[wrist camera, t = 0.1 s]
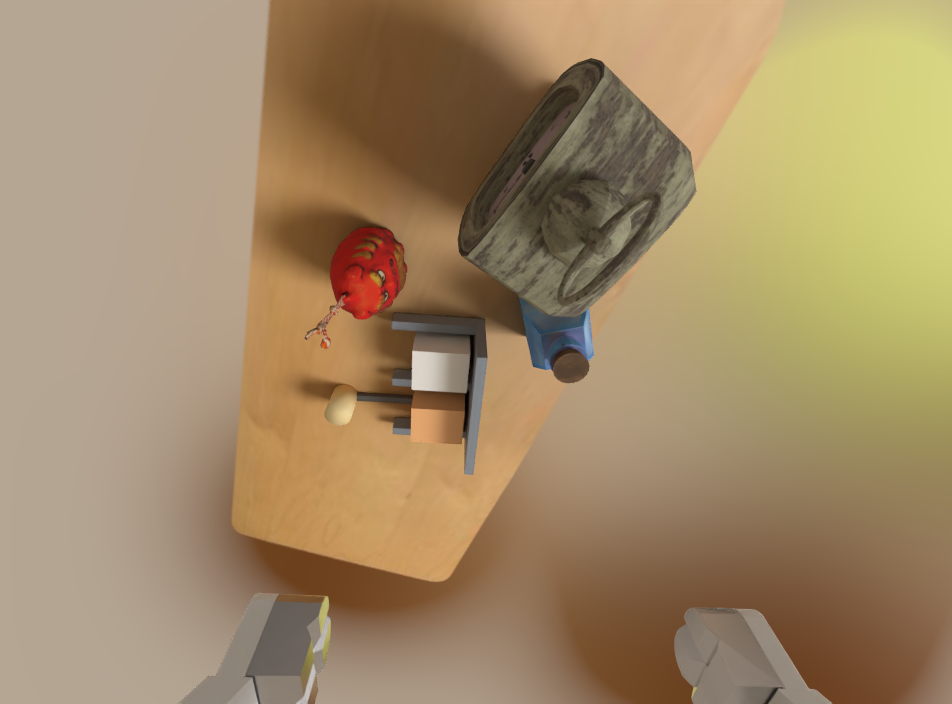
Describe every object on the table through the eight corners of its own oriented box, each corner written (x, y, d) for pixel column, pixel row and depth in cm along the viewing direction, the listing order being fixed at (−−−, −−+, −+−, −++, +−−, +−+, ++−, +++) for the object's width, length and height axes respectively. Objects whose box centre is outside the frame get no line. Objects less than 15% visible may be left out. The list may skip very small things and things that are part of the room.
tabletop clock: (561, 61, 37) (685, 48, 16) (635, 133, 40) (823, 202, 19) (459, 204, 43) (452, 332, 22) (531, 257, 46) (585, 415, 25)
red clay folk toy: (415, 287, 48) (397, 366, 35) (351, 297, 48) (310, 377, 36) (399, 216, 44) (371, 276, 31) (329, 227, 44) (273, 290, 32)
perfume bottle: (526, 336, 51) (541, 402, 41) (517, 287, 48) (530, 345, 38) (580, 325, 51) (609, 389, 41) (575, 275, 47) (604, 331, 37)
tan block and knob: (331, 376, 54) (320, 403, 50) (464, 385, 55) (464, 411, 51) (334, 409, 56) (324, 436, 52) (461, 416, 57) (461, 444, 53)
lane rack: (394, 312, 49) (382, 351, 43) (484, 319, 50) (487, 358, 43) (395, 423, 58) (385, 470, 51) (472, 427, 58) (473, 474, 52)
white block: (416, 327, 51) (412, 350, 46) (470, 331, 51) (470, 354, 47) (416, 364, 53) (411, 389, 49) (466, 367, 54) (466, 393, 49)
